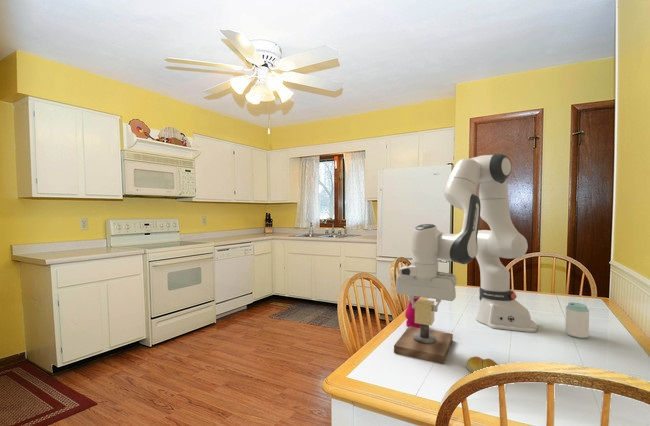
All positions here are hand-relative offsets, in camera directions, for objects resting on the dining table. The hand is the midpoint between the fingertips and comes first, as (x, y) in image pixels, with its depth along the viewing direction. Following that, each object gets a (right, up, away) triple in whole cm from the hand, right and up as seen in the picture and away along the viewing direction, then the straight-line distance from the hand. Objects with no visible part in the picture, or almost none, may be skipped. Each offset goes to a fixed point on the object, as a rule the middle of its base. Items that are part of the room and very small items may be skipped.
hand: (424, 309), depth 114 cm
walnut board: (0, -13, 0) cm, 13 cm away
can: (+61, -13, +10) cm, 63 cm away
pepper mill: (+2, -13, +20) cm, 24 cm away
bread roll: (+12, -14, -17) cm, 25 cm away
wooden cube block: (0, -4, 0) cm, 4 cm away
